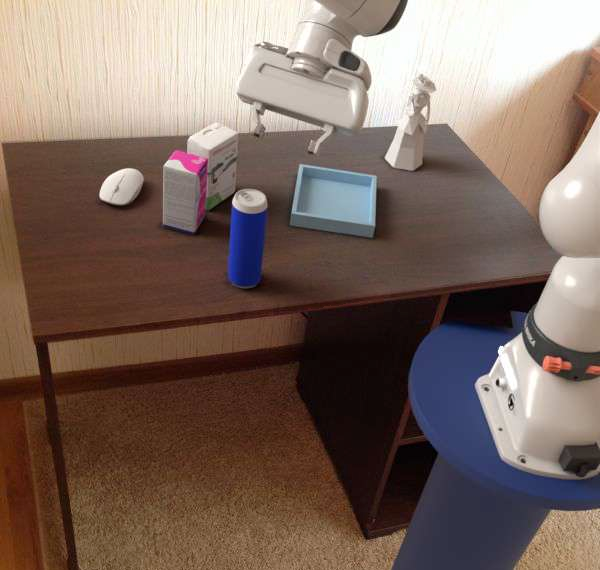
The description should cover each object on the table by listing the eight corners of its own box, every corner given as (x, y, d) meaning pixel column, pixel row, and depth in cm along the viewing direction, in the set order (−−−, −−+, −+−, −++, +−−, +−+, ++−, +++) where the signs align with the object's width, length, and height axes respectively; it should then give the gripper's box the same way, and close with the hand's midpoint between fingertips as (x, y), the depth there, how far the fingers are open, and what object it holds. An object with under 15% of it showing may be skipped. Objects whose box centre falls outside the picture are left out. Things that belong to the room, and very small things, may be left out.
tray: (372, 238, 131) (375, 226, 129) (289, 225, 131) (291, 213, 129) (374, 187, 142) (376, 175, 141) (298, 175, 142) (299, 163, 140)
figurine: (399, 173, 147) (421, 83, 134) (378, 152, 152) (397, 63, 138) (429, 168, 150) (453, 79, 137) (407, 148, 154) (428, 60, 141)
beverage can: (266, 282, 120) (275, 200, 109) (242, 294, 117) (248, 211, 106) (245, 265, 122) (252, 183, 111) (221, 277, 119) (225, 194, 108)
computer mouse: (94, 202, 129) (92, 187, 126) (119, 174, 135) (118, 159, 133) (126, 211, 128) (125, 196, 126) (150, 183, 135) (150, 167, 132)
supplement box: (195, 235, 126) (196, 174, 117) (161, 227, 126) (160, 165, 118) (206, 217, 130) (208, 156, 121) (174, 209, 130) (173, 148, 122)
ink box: (208, 212, 131) (210, 149, 122) (185, 201, 132) (185, 138, 123) (236, 191, 136) (240, 130, 127) (214, 181, 137) (216, 120, 129)
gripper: (249, 28, 111) (216, 117, 112) (377, 66, 108) (342, 158, 108) (259, 48, 118) (228, 132, 118) (381, 85, 114) (348, 172, 115)
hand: (284, 145), depth 113 cm, fingers open, 8 cm apart
